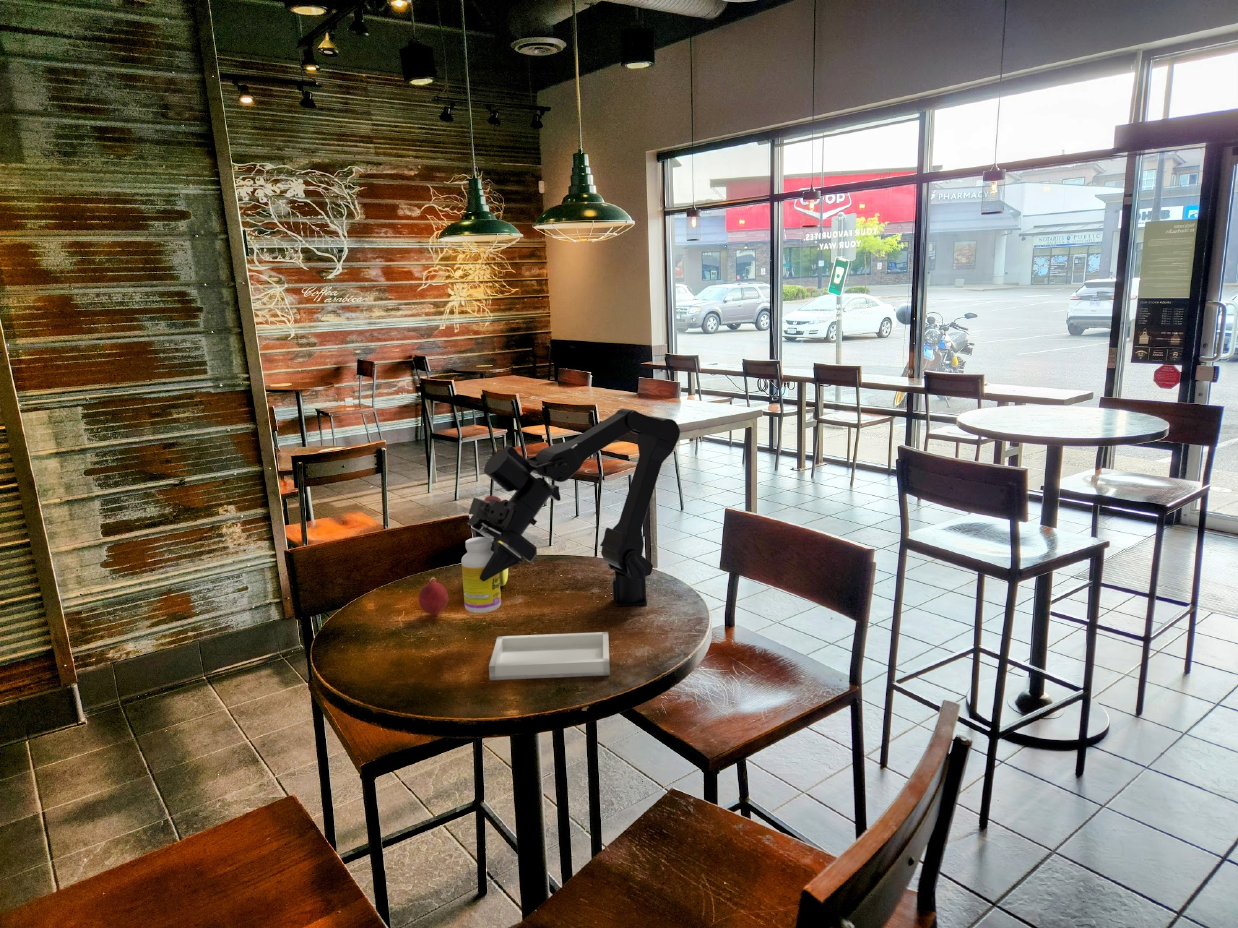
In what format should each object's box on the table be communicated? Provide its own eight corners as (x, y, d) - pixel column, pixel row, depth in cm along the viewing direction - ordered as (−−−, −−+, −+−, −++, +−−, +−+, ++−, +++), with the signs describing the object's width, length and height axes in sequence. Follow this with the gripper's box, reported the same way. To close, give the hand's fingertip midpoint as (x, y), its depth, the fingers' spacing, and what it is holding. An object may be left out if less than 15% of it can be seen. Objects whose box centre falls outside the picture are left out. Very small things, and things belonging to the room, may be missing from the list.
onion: (434, 623, 155) (431, 584, 154) (414, 617, 158) (410, 580, 157) (455, 613, 160) (452, 575, 159) (435, 608, 163) (431, 571, 162)
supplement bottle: (498, 613, 142) (493, 545, 139) (461, 614, 142) (455, 546, 139) (504, 600, 148) (499, 534, 146) (469, 601, 148) (464, 535, 146)
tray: (608, 644, 143) (608, 631, 142) (609, 674, 131) (609, 661, 131) (498, 649, 142) (497, 636, 142) (489, 680, 131) (488, 666, 130)
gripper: (473, 472, 150) (422, 539, 146) (516, 489, 135) (461, 564, 131) (513, 505, 156) (465, 570, 152) (559, 525, 141) (507, 598, 137)
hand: (473, 574), depth 143 cm, fingers closed on supplement bottle, 7 cm apart
